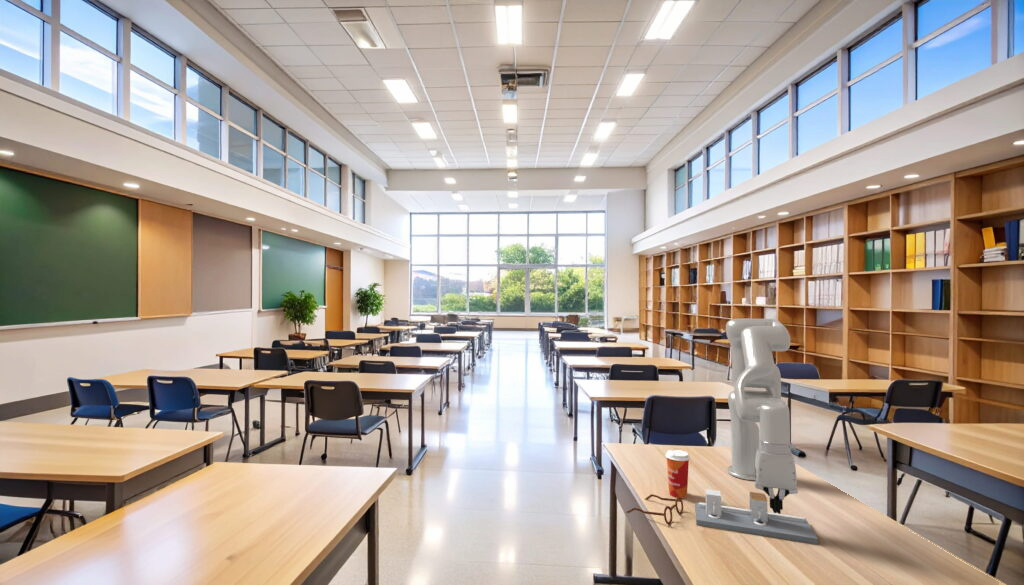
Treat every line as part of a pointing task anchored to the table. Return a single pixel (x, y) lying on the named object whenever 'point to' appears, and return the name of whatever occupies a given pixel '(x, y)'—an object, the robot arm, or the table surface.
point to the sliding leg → (758, 507)
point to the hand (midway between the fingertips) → (776, 511)
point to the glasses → (664, 509)
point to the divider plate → (751, 521)
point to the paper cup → (677, 472)
